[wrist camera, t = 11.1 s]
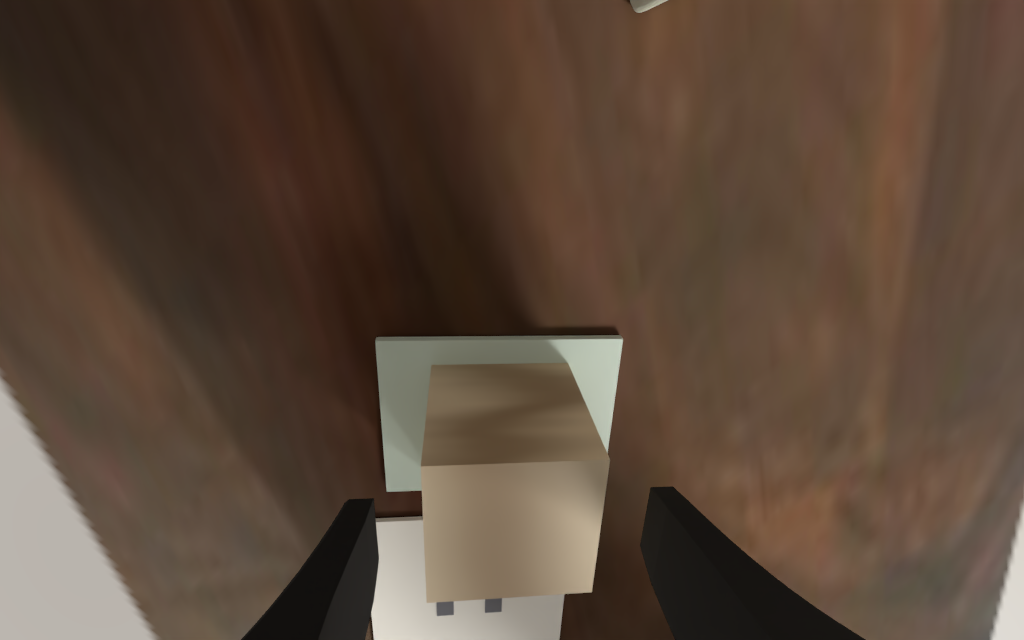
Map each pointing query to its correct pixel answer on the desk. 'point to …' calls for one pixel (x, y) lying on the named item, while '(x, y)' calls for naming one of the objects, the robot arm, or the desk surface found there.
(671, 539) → the robot arm
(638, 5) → the skincare box
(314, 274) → the desk surface
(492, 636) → the tile
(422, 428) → the sage coaster
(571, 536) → the maple block
